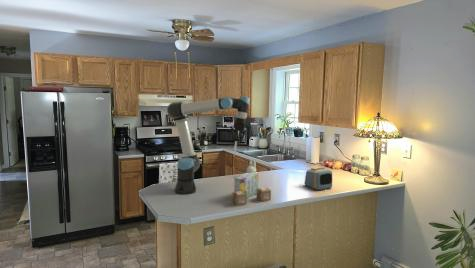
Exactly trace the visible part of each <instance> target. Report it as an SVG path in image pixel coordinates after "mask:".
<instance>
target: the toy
mask: <svg viewBox="0 0 475 268" xmlns="http://www.w3.org/2000/svg"><path fill="white" fill-rule="evenodd" d="M256 163H257V162H256V161H255V160H254V161H252V160H249V162H248V166H247V168H246V172H244V173H242V174H241V176H242V175H246V174H249V173H252V172H254V173H257V167H256V166H257V164H256Z"/></svg>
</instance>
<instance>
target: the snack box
mask: <svg viewBox="0 0 475 268" xmlns="http://www.w3.org/2000/svg"><path fill="white" fill-rule="evenodd" d="M233 179H234V180H233V181H234V184H233V192H237V191H243V192H245V193H246V194H247V198H249V197H252V196H254V195H257V188H259V173H258V172H256V173H254V172H252V173H249V174H246V175H242V174H241V175H239V176H236V177H234V178H233Z"/></svg>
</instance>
